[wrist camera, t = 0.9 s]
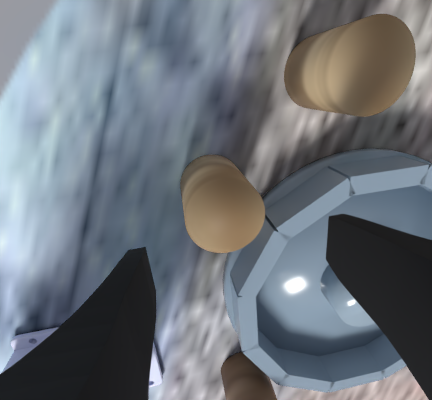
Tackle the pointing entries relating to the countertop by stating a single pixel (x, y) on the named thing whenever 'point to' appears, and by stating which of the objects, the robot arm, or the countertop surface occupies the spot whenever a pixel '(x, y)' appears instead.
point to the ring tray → (321, 270)
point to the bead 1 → (220, 205)
